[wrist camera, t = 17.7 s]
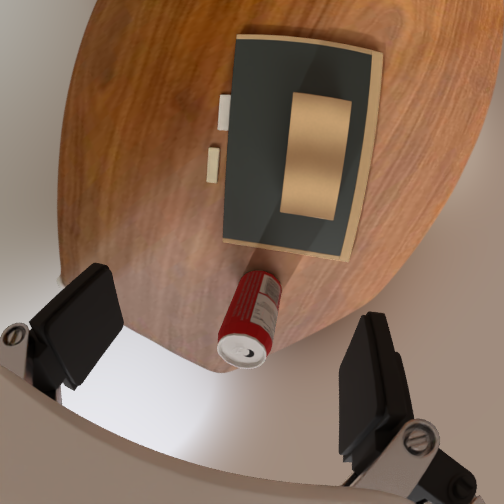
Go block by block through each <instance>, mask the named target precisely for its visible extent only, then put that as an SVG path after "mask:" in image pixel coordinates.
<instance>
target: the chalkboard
mask: <svg viewBox="0 0 504 504" xmlns="http://www.w3.org/2000/svg"><path fill="white" fill-rule="evenodd" d="M382 65H383V53H381V52H377V51H374V50H370V49H366V48H361V47H357V46H352V45H347V44H342V43H337V42H331V41H324V40H318V39H310V38H302V37H292V36H279V35H257V34H237V38H236V47H235V58H234V68H233V80H232V91H231V104H230V117H229V131H228V146H227V162H226V180H225V199H224V221H223V242H225V243H231V244H237V245H244V246H250V247H256V248H263V249H269V250H275V251H282V252H288V253H294V254H301V255H307V256H313V257H319V258H326V259H332V260H338V261H344V262H349V259H350V255H351V252H352V248H353V244H354V240H355V236H356V232H357V228H358V223H359V219H360V215H361V210H362V205H363V201H364V196H365V191H366V186H367V181H368V176H369V170H370V165H371V159H372V153H373V146H374V140H375V133H376V126H377V118H378V110H379V101H380V91H381V79H382ZM293 92H299V93H306V94H313V95H320V96H326V97H332V98H338V99H343V100H348V101H352V105H351V114H350V122H349V130H348V137H347V144H346V151H345V158H344V164H343V171H342V177H341V183H340V188H339V194H338V199H337V205H336V210H335V215H334V220H327V219H321V218H315V217H309V216H302V215H296V214H289V213H283V212H280V207H281V199H282V190H283V182H284V173H285V164H286V156H287V146H288V137H289V128H290V118H291V108H292V98H293Z"/></svg>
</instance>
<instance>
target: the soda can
mask: <svg viewBox="0 0 504 504" xmlns="http://www.w3.org/2000/svg"><path fill="white" fill-rule="evenodd" d="M281 293H282V288H281V285H280V282H279V281H278V280H277V279H276V278H275V277H274V276H273V275H272V274H270V273H268V272H265V271H251V272H248V273H246V274H245V275H244V276H243V277H242V278H241V280H240V282H239V284H238V287H237V289H236V292H235V294H234V296H233V299H232V301H231V304H230V306H229V309H228V311H227V313H226V316H225V318H224V321H223V323H222V326H221V328H220V331H219V333H218V345H217V351H218V354H219V355H220V356H221V357H222V358H223V360H224V361H225V362H227V363H229V364H231V365H233V366H235V367H238V368H243V369H251V368H256V367H259V366H260V365H262V364H263V363H264V361H265V359H266V357H267V356H268V354H269V352H270V351H271V347H272V343H273V337H274V332H275V327H276V321H277V315H278V310H279V304H280V298H281Z"/></svg>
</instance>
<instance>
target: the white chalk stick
mask: <svg viewBox="0 0 504 504" xmlns="http://www.w3.org/2000/svg"><path fill="white" fill-rule="evenodd" d="M230 104H231V95H220V104H219V118H218V130H229V117H230Z"/></svg>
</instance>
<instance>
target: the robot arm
mask: <svg viewBox="0 0 504 504" xmlns="http://www.w3.org/2000/svg"><path fill="white" fill-rule="evenodd" d="M29 323H30V325H31V327H32V329H31V330H29V329H28V326H27V325H25V324H24V323H15V324H12V325H10V326H8V327H7V328H6V329H5V330H4V331H3V333H2V335H1V337H0V504H485V503H484V501H483V499H482V498H481V496H477V497H476V495H475V493H476V489H477V484H476V479H475V477H474V475H473V474H472V473H471V472H470V471H468V470H467V469H466V468H464V467H463V466H461V465H460V464H459V463H458V462H456V461H455V460H454V459H452V458H451V457H450V456H448V455H447V454H446V453H444V452H443V451H442V450H441V449H439V445H440V436H439V433H438V431H437V429H436V428H435V426H434V425H432V424H431V423H430V422H428V421H426V420H423V419H414V415H413V410H412V404H411V399H410V394H409V389H408V384H407V380H406V375H405V371H404V367H403V363H402V359H401V356H400V354H399V353H398V352H395V350H394V346H393V342H392V338H391V335H390V331H389V327H388V323H387V320H386V316H385V314H384V313H378V312H368V313H367V314H366V315H362V316H361V318H360V320H359V323H358V326H357V328H356V330H355V333H354V335H353V338H352V340H351V343H350V345H349V347H348V349H347V352H346V354H345V356H344V359H343V361H342V363H341V365H340V369H339V454H340V455H343V462H352V470H353V473H352V474H351V475H350V476H349V477H348V478H347V479H346V480H345V481H344V482H343V483H342V484H341V485H340V486H327V485H311V484H300V483H290V482H282V481H274V480H267V479H261V478H254V477H249V476H243V475H238V474H233V473H229V472H224V471H220V470H216V469H212V468H208V467H204V466H200V465H197V464H194V463H190V462H187V461H184V460H181V459H177V458H174V457H171V456H168V455H165V454H163V453H160V452H157V451H154V450H152V449H149V448H147V447H144V446H141V445H139V444H137V443H134V442H132V441H129V440H127V439H125V438H123V437H120V436H118V435H116V434H114V433H112V432H110V431H108V430H106V429H104V428H102V427H100V426H98V425H96V424H94V423H92V422H90V421H88V420H87V419H85V418H83V417H81V416H79V415H78V414H76V413H74V412H72V411H71V410H69V409H67V408H66V407H64V406H62V398H61V386H60V385H61V384H62V382H63V383H64V385H65V386H67V387H68V388H70V389H72V390H75V389H76V388H77V386H79V385H81V384H82V383H83V382H84V380H85V379H86V377H87V376H88V374H89V373H90V372H91V370H92V369H93V367H94V366H95V365H96V363H97V362H98V361H99V359H100V358H101V356H102V355H103V354H104V352H105V351H106V350H107V348H108V347H109V346H110V344H111V343H112V342H113V340H114V339H115V338H116V336H117V335H118V334H119V332H120V331H121V330H122V328H123V324H124V321H123V317H122V313H121V310H120V306H119V302H118V298H117V294H116V289H115V285H114V281H113V276H112V272H111V271H110V270H109V267H108V266H107V265H103V264H99V263H93V264H92V265H90V266H89V267H88V268H87V269H86V270H85V271H83V272H82V273H81V274H80V275H79V276H78V277H76V278H75V279H74V280H73V281H72V282H71V283H70V284H69V285H67V286H66V287H65V288H64V289H63V290H62V291H61V292H60V293H59V294H58V295H56V296H55V297H54V298H53V299H52V300H51V301H50V302H49V303H48V304H47V305H46V306H45V307H44V308H43V309H42V310H41V311H40V312H38V313H37V314H36V316H34V317H33V318H32V319H31V320H30V321H29Z"/></svg>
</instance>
